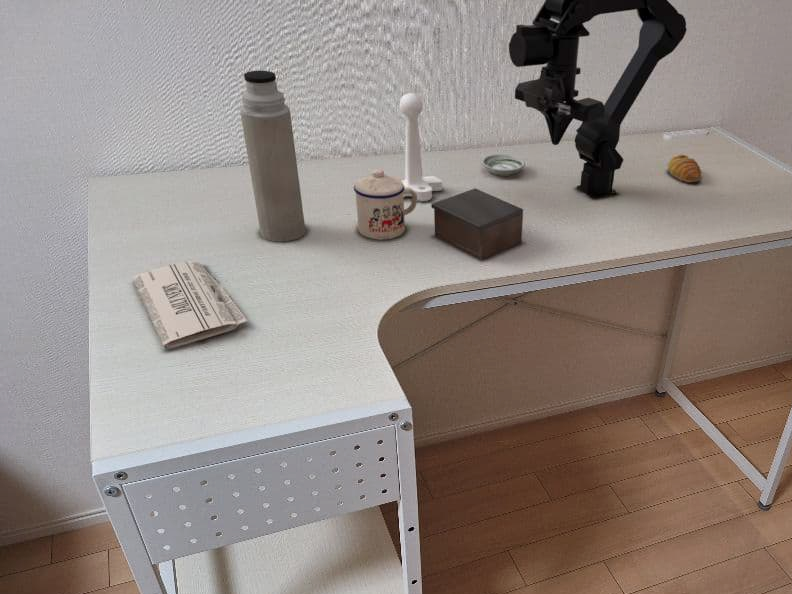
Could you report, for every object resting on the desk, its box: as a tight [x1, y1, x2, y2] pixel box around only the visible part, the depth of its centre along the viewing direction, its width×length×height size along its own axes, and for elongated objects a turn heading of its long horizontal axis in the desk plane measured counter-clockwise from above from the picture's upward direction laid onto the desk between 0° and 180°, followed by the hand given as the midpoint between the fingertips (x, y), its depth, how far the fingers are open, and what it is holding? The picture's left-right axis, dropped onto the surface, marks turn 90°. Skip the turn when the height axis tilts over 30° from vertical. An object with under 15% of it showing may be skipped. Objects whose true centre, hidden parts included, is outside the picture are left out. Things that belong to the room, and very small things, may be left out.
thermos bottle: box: [239, 70, 306, 242], centre depth 134 cm, size 8×8×28 cm
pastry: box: [667, 154, 702, 183], centre depth 176 cm, size 9×7×4 cm
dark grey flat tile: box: [430, 187, 524, 230], centre depth 141 cm, size 11×13×1 cm
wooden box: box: [433, 209, 524, 261], centre depth 143 cm, size 11×13×6 cm
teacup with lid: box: [353, 168, 418, 241], centre depth 142 cm, size 12×9×12 cm
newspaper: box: [132, 259, 248, 350], centre depth 120 cm, size 23×12×2 cm, turn 33°
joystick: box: [399, 92, 443, 203], centre depth 153 cm, size 11×8×20 cm
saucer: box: [481, 153, 526, 177], centre depth 172 cm, size 10×10×2 cm
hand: (555, 144), depth 154 cm, fingers closed
